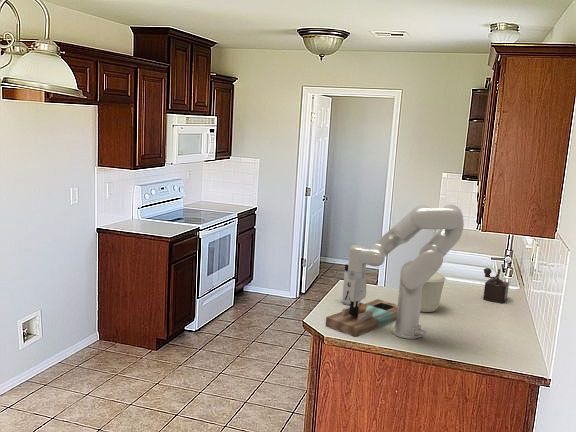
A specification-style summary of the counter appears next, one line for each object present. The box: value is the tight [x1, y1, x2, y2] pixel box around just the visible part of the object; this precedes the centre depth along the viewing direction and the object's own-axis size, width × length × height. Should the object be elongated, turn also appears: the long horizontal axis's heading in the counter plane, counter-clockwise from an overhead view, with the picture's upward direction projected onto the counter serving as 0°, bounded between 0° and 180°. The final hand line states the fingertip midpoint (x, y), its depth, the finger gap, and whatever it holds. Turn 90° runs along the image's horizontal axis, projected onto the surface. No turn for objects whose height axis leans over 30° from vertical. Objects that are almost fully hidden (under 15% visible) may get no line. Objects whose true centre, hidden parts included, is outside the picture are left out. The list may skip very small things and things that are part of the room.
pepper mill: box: [482, 267, 510, 305], centre depth 295 cm, size 16×11×18 cm
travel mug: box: [341, 263, 349, 306], centre depth 278 cm, size 6×7×20 cm
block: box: [358, 301, 367, 314], centre depth 251 cm, size 5×5×5 cm
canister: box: [420, 271, 447, 313], centre depth 275 cm, size 18×18×21 cm
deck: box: [325, 298, 398, 338], centre depth 256 cm, size 16×40×7 cm, turn 137°
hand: (353, 314), depth 248 cm, fingers closed
